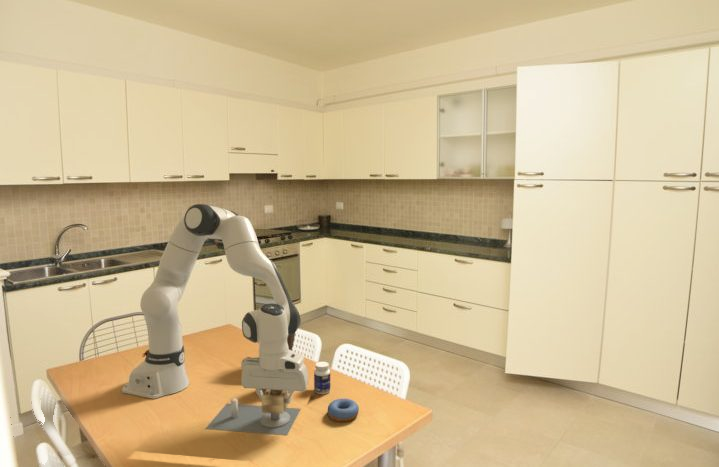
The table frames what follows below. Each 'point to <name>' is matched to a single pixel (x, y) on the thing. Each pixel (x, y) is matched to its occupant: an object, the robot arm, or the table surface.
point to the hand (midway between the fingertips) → (275, 401)
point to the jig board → (253, 419)
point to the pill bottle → (322, 378)
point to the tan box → (274, 401)
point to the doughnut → (343, 410)
